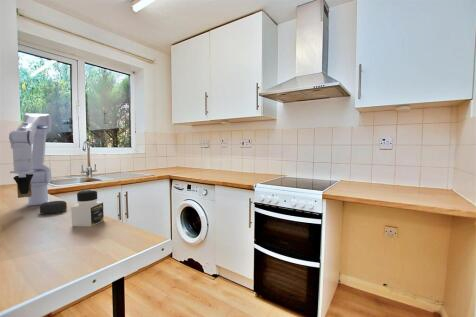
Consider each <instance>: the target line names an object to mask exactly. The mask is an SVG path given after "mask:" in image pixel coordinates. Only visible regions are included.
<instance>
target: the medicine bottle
mask: <svg viewBox="0 0 476 317" xmlns="http://www.w3.org/2000/svg"><path fill="white" fill-rule="evenodd" d="M76 198H77V204H75V205H72V206H71V207H70V210H71V211H70V213H71V214H70V215H71V226H72V227H80V228H81V227H82V228H83V227H86V228H89V227H90V228H91V227H93V226H95V225H97V224H99V223H101V222H103V221H104V219H105V218H104V202H103V201H98V191H97V190H95V189H84V190H80V191H78V192H77V193H76Z"/></svg>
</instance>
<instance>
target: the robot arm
mask: <svg viewBox="0 0 476 317" xmlns="http://www.w3.org/2000/svg"><path fill="white" fill-rule="evenodd" d="M22 119H23V122H22V123H21V124H20V125H19V126H18V127H17V129H15V130H14V129H13V130H12V131H10V132H9V134H8V139H9V143H10V149H12V159H13V160H12V161H13V162H12V163H13V170H10V171H9V174H15V176H14V177H13V180H14V182H15V183H16V186H17V185H18V188H19V191H20V193H21V194H28V191H29V184H30V183H31V190H32V196H31V197H27V203H26V207H31V206H38V205H39V206H40V205H41V204H43V203H46V202H50V199H49V193H48V191H49V190H48V188H49V187H48V184H51V181H52V171H51V168H50V166H47V165H45V157H46V156H45V155H46V154H45V153H46V152H45V151H46V141H47V140H46V139H47V135H48V134H50V133H51V132H52V124H53V122H52V121H53V118H52V115H51V114H50V113H31V112H30V113H29V112H25V113H24V114H23V116H22Z"/></svg>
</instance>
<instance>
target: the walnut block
mask: <svg viewBox="0 0 476 317" xmlns="http://www.w3.org/2000/svg"><path fill="white" fill-rule="evenodd" d="M16 189H17V198H18V199H20V198H21V199H22V198H28V197H31V196H32V190H31V183H30V184H29V191H28V194H21V193H20V191H19V188H18V185H17V184H16Z"/></svg>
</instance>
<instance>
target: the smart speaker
mask: <svg viewBox="0 0 476 317" xmlns="http://www.w3.org/2000/svg"><path fill="white" fill-rule="evenodd" d="M66 210H68V206H67V202H66V201H64V200H53V201H49V202H46V203H43V204H40V205H39V213H40V214H41V215H55V214H59V213H63V212H65V211H66Z"/></svg>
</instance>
